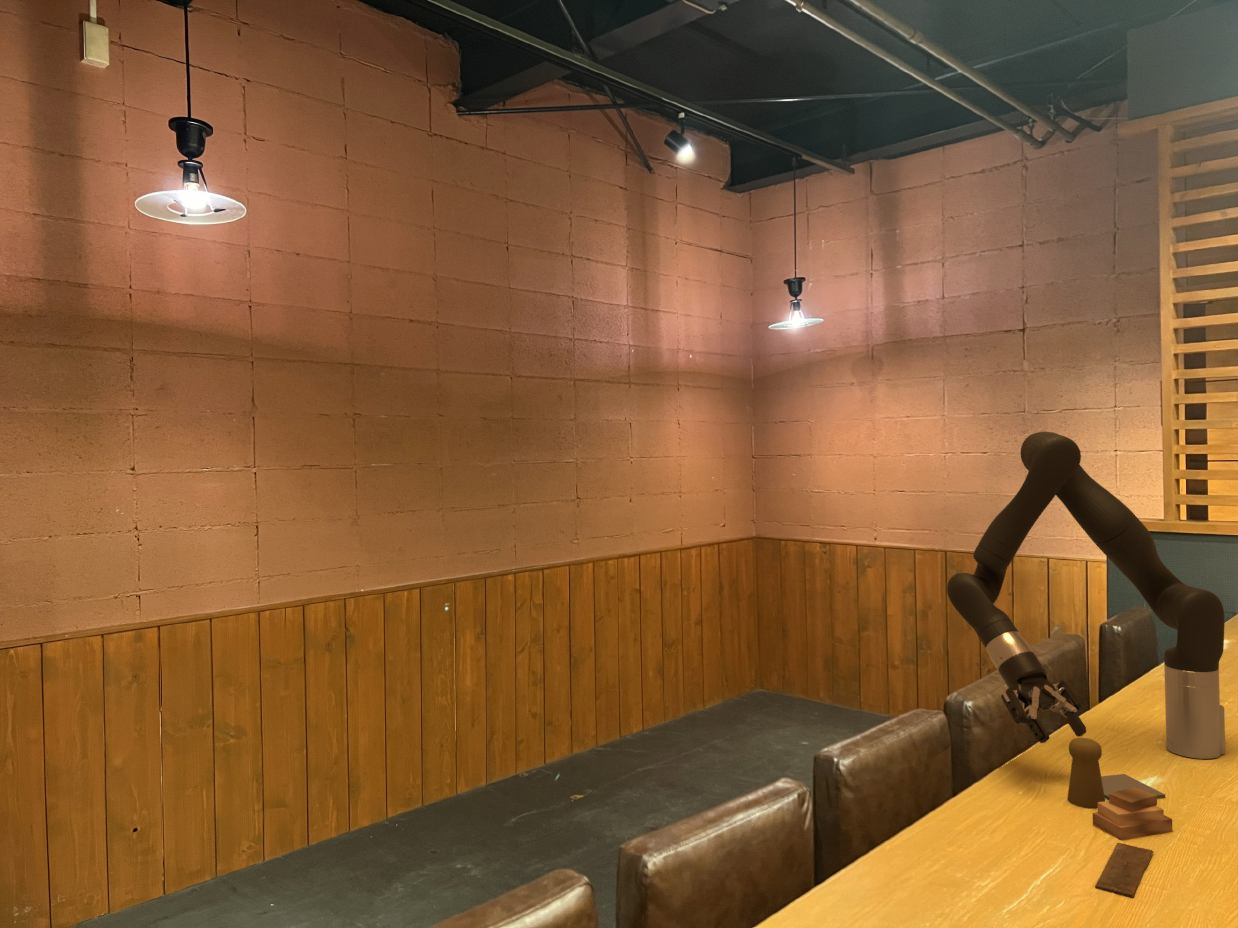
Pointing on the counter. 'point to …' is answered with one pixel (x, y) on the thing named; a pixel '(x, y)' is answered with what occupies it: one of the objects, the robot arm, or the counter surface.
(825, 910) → the counter surface
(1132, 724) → the counter surface
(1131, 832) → the offcut stack
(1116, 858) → the wooden plank
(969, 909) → the counter surface
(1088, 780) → the cork
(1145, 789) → the slate coaster
